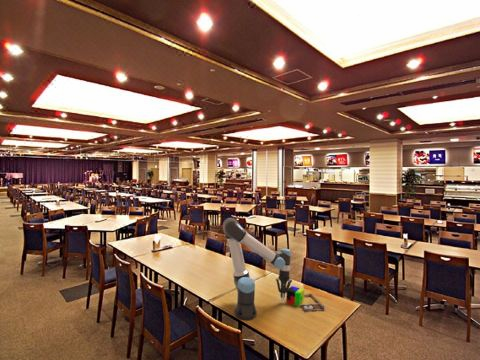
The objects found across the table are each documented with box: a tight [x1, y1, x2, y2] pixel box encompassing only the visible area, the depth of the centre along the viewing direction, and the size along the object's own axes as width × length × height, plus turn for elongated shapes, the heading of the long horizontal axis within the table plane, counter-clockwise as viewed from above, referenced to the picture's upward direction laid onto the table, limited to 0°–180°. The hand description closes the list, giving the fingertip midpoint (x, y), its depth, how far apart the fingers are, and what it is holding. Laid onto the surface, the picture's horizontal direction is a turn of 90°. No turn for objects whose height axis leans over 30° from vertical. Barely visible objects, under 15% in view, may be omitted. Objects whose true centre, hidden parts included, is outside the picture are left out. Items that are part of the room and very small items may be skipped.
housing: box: [298, 293, 327, 313], centre depth 192 cm, size 17×24×4 cm
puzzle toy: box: [285, 285, 305, 307], centre depth 195 cm, size 10×10×10 cm
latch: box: [304, 305, 313, 310], centre depth 183 cm, size 6×2×3 cm, turn 100°
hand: (282, 301), depth 192 cm, fingers closed
